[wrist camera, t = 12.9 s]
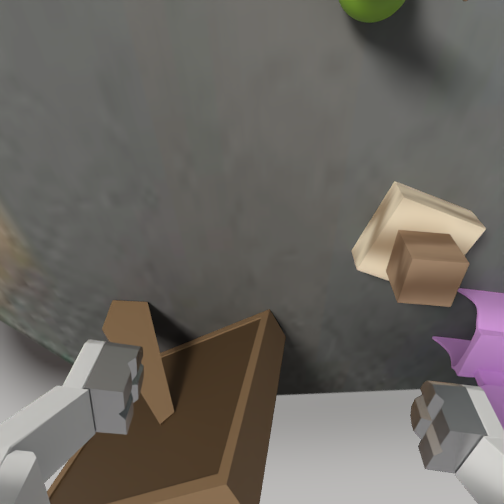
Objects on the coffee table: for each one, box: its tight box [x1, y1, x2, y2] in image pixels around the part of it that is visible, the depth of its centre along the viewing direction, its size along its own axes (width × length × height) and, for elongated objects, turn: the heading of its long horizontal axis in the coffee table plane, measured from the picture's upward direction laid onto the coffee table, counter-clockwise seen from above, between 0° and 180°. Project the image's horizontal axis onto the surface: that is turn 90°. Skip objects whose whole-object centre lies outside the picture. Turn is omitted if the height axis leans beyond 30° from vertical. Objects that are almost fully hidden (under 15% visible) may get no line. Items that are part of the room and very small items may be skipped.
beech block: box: [352, 181, 486, 281], centre depth 43 cm, size 9×9×4 cm
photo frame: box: [47, 300, 286, 504], centre depth 43 cm, size 15×22×25 cm
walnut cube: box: [386, 230, 470, 307], centre depth 40 cm, size 5×5×5 cm
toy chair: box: [432, 288, 504, 429], centre depth 45 cm, size 8×9×15 cm
